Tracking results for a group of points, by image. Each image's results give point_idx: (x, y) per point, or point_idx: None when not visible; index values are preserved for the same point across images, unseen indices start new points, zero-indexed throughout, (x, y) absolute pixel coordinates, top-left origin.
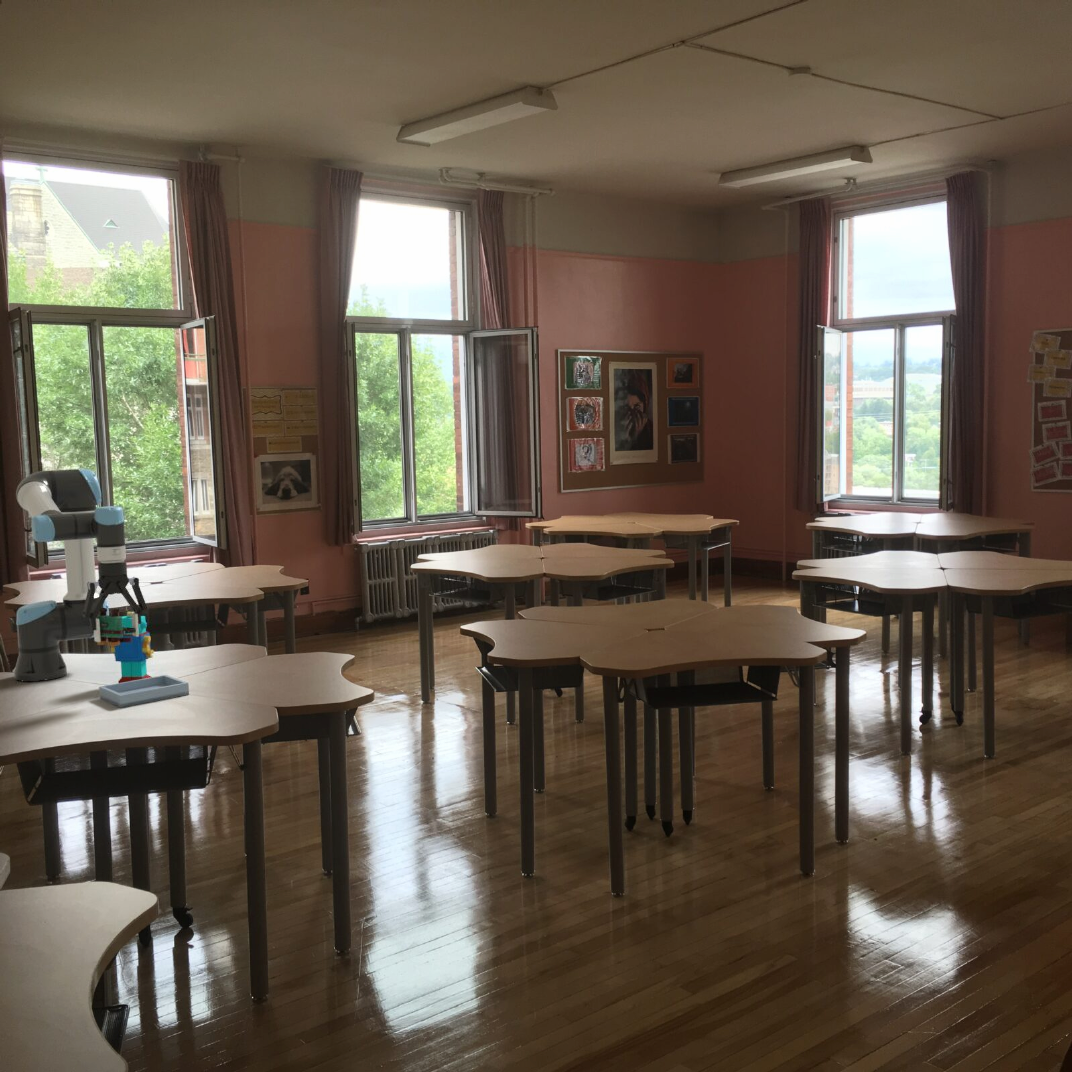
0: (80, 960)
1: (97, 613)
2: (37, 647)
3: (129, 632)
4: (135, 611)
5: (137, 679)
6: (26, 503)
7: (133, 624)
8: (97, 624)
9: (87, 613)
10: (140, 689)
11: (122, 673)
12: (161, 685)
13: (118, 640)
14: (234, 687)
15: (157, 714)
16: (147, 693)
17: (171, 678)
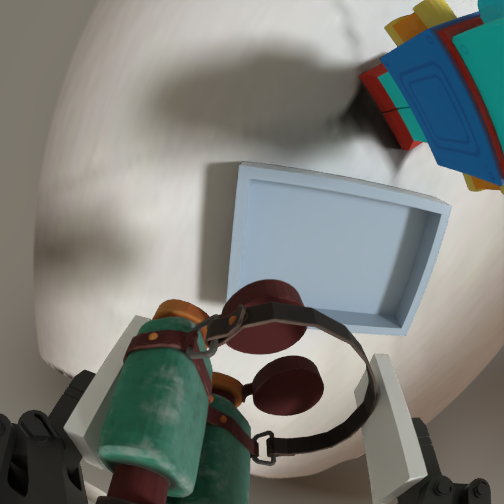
0: (93, 495)
1: (81, 497)
2: None
3: (290, 443)
4: (410, 501)
5: (401, 128)
6: None
7: (380, 424)
8: None
9: (20, 470)
10: (358, 203)
11: (383, 78)
12: (416, 214)
13: (238, 398)
14: (466, 332)
15: None
16: None
17: (427, 261)
